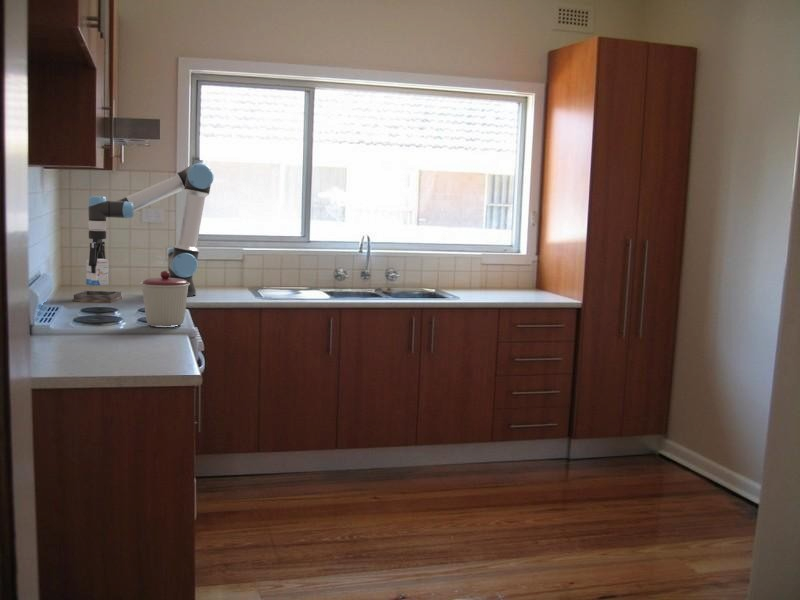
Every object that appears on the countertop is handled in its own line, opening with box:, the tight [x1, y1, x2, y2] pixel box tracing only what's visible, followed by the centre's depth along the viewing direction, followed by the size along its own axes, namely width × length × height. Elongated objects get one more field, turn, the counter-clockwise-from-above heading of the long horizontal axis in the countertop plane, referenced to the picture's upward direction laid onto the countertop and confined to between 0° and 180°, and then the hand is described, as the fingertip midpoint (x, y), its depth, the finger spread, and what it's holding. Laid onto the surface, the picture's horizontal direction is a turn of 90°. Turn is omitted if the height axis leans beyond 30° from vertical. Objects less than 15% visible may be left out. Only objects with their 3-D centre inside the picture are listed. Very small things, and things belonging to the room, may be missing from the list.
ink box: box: [85, 258, 110, 286], centre depth 380 cm, size 9×5×12 cm, turn 143°
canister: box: [139, 270, 190, 326], centre depth 315 cm, size 18×18×21 cm
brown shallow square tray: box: [72, 290, 123, 304], centre depth 382 cm, size 17×17×3 cm
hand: (97, 279), depth 381 cm, fingers closed on ink box, 9 cm apart
